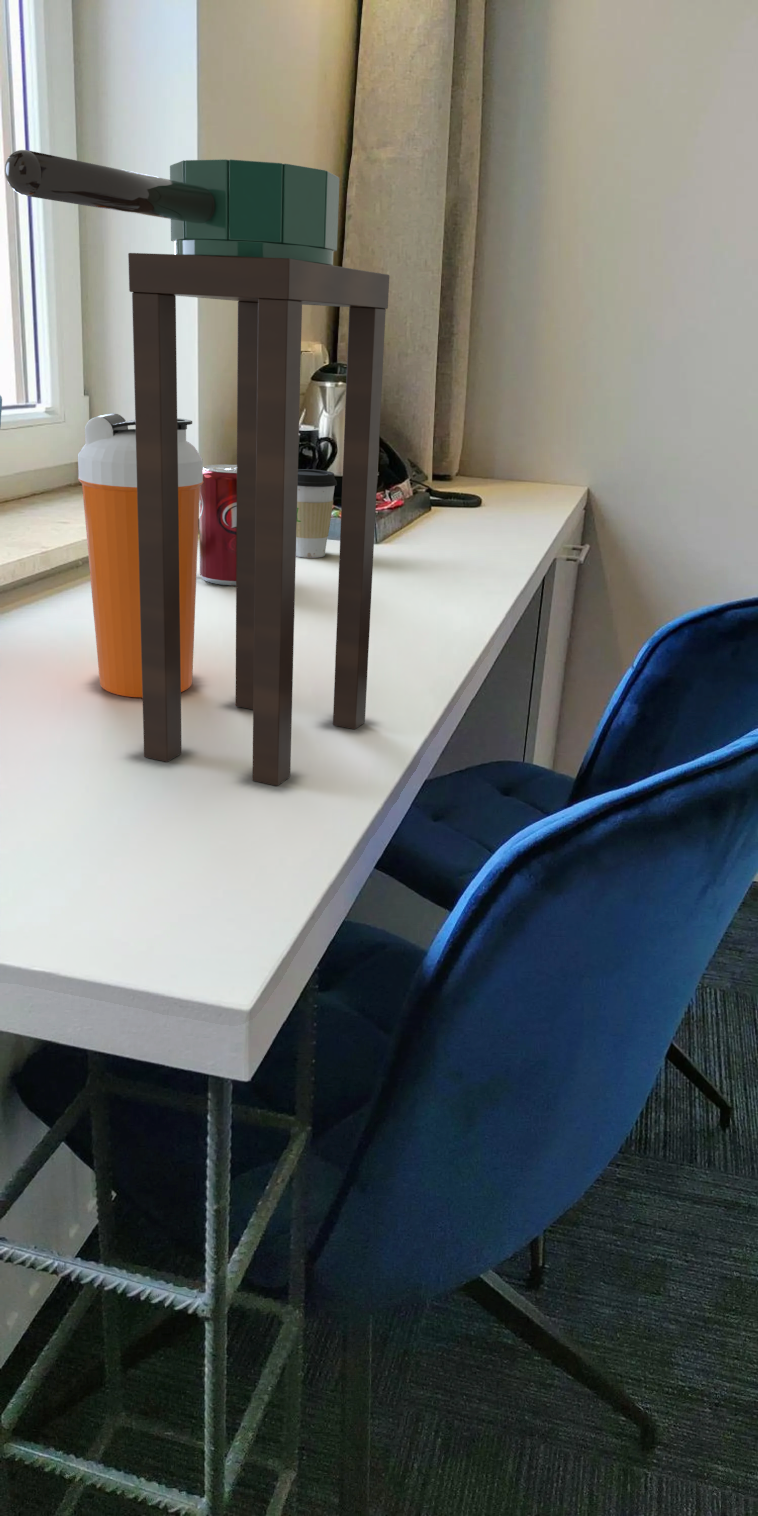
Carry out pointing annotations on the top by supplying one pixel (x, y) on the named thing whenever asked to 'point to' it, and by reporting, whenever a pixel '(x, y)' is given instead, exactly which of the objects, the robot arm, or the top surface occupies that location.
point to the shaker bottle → (132, 548)
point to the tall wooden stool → (255, 484)
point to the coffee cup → (313, 511)
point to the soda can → (218, 524)
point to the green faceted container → (203, 202)
